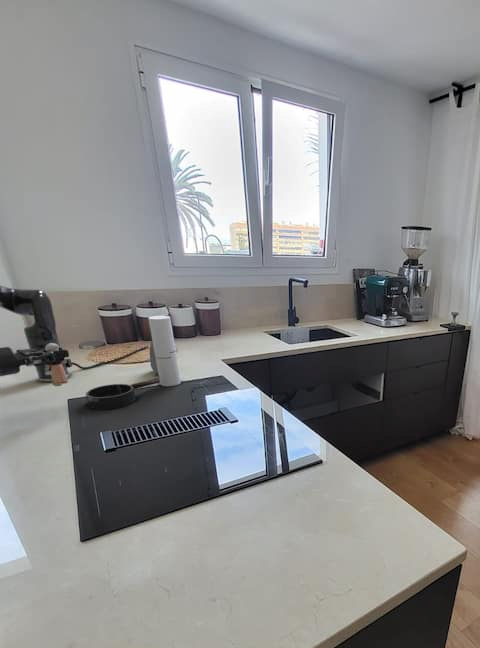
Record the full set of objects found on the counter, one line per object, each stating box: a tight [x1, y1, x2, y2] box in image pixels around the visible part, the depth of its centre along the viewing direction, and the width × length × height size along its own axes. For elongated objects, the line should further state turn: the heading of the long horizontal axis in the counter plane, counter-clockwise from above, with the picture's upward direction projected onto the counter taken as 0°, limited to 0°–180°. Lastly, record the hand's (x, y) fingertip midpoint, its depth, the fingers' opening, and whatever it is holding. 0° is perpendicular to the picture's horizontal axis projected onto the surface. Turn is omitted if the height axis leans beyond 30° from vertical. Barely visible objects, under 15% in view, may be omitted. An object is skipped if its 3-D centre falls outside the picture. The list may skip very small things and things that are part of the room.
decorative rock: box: [148, 340, 159, 376], centre depth 159 cm, size 16×7×15 cm, turn 36°
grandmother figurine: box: [45, 343, 69, 387], centre depth 118 cm, size 8×4×13 cm, turn 5°
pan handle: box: [129, 377, 160, 390], centre depth 140 cm, size 11×2×2 cm, turn 145°
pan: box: [85, 383, 136, 410], centre depth 132 cm, size 14×14×4 cm
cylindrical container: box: [147, 315, 182, 387], centre depth 146 cm, size 7×7×25 cm
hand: (64, 352), depth 120 cm, fingers closed on grandmother figurine, 3 cm apart
